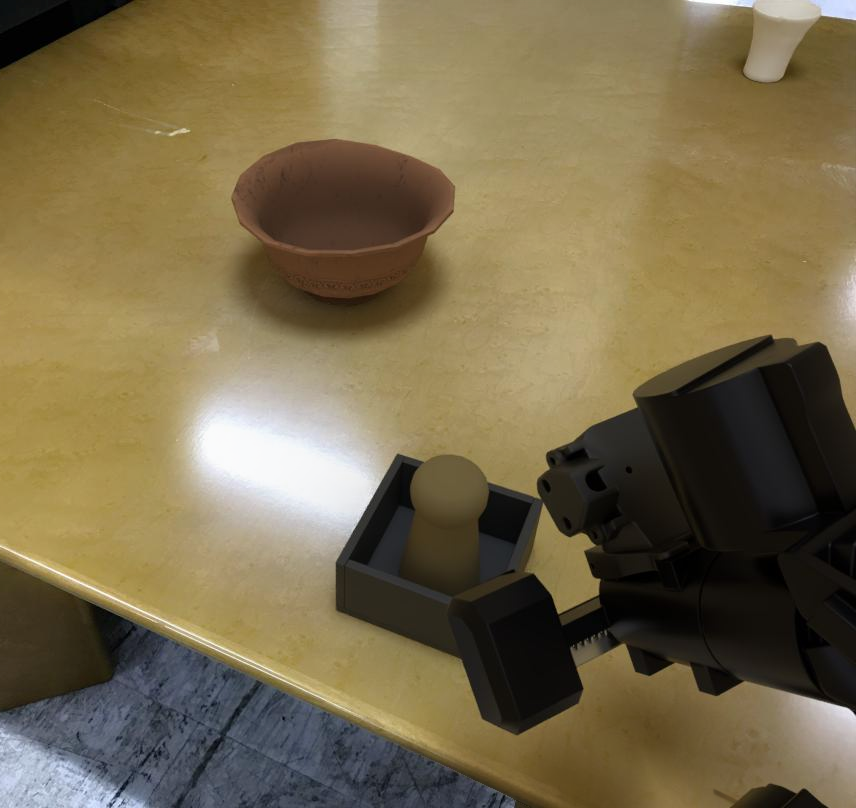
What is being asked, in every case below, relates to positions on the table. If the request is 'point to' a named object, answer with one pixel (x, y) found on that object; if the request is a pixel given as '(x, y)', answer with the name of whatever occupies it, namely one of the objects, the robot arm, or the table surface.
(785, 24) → the cup
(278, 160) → the bowl
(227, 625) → the table surface
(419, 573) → the cork
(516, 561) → the dark grey square box
